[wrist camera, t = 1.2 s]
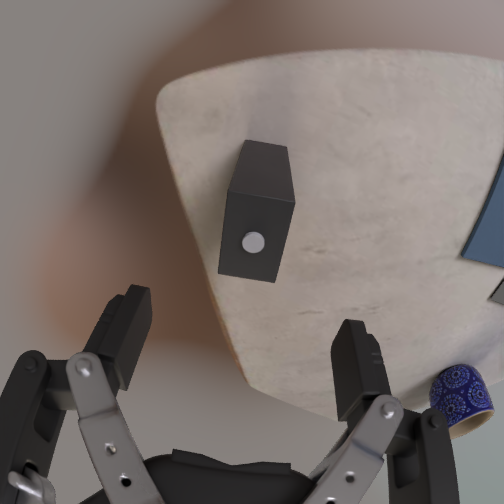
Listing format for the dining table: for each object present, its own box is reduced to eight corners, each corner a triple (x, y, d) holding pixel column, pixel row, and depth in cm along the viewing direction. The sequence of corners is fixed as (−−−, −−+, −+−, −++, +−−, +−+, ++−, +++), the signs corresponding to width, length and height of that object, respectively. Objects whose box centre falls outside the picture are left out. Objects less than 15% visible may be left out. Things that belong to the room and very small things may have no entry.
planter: (470, 379, 45) (486, 425, 35) (422, 397, 48) (434, 446, 38) (480, 349, 39) (502, 401, 30) (426, 370, 42) (442, 427, 33)
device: (245, 139, 24) (226, 192, 15) (287, 146, 25) (296, 204, 15) (236, 197, 28) (216, 277, 18) (274, 204, 28) (275, 286, 18)
